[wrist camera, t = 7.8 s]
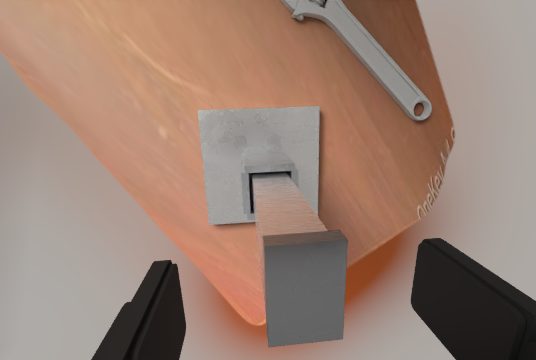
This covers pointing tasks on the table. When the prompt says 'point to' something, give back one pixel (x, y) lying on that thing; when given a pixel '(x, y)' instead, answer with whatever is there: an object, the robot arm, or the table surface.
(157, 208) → the table surface
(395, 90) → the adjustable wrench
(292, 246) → the column
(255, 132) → the stand base
